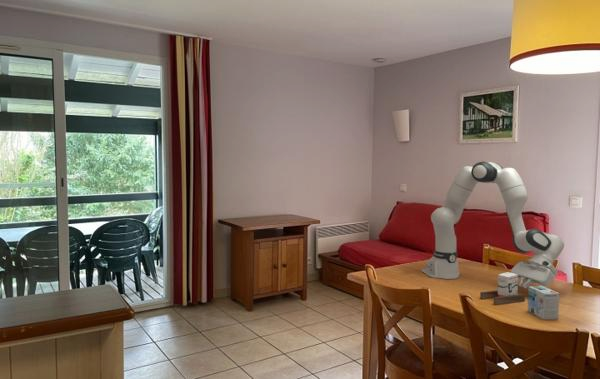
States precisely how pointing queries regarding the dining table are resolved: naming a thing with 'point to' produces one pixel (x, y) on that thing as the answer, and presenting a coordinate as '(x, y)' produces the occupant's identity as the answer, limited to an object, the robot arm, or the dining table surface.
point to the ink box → (507, 284)
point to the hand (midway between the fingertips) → (522, 286)
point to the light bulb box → (543, 302)
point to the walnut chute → (502, 299)
